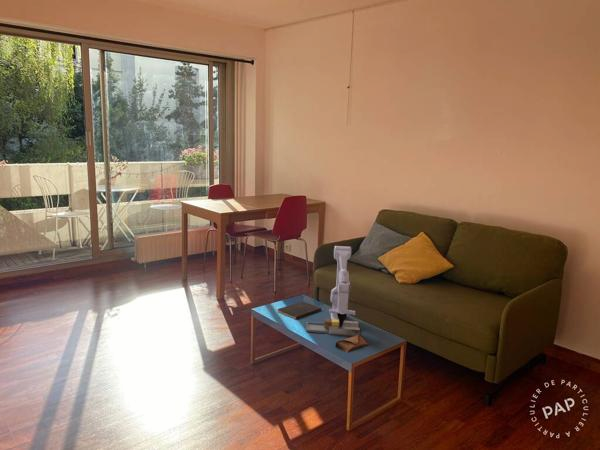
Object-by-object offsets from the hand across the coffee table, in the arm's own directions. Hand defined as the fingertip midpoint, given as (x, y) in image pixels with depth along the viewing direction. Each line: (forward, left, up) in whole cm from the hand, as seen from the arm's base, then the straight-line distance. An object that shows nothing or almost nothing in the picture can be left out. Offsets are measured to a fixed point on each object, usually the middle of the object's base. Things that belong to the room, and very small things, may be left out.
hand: (340, 326), depth 265 cm
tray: (0, -13, -3) cm, 13 cm away
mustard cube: (0, -3, -1) cm, 3 cm away
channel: (0, +2, -3) cm, 3 cm away
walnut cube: (0, -7, -1) cm, 7 cm away
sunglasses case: (+19, +5, -3) cm, 20 cm away
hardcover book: (-25, -24, -3) cm, 35 cm away
